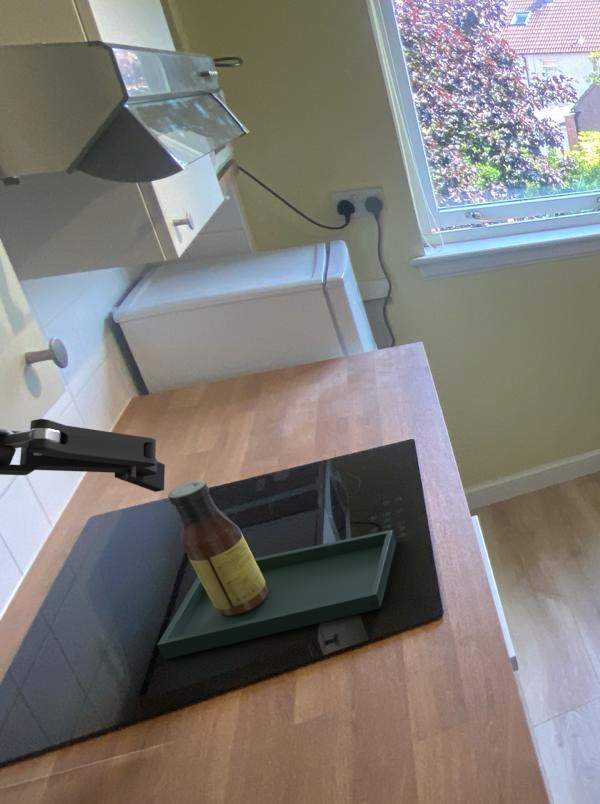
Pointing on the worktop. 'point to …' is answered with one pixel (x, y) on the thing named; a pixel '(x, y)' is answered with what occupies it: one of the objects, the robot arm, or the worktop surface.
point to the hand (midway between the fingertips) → (77, 492)
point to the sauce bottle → (218, 551)
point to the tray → (290, 594)
